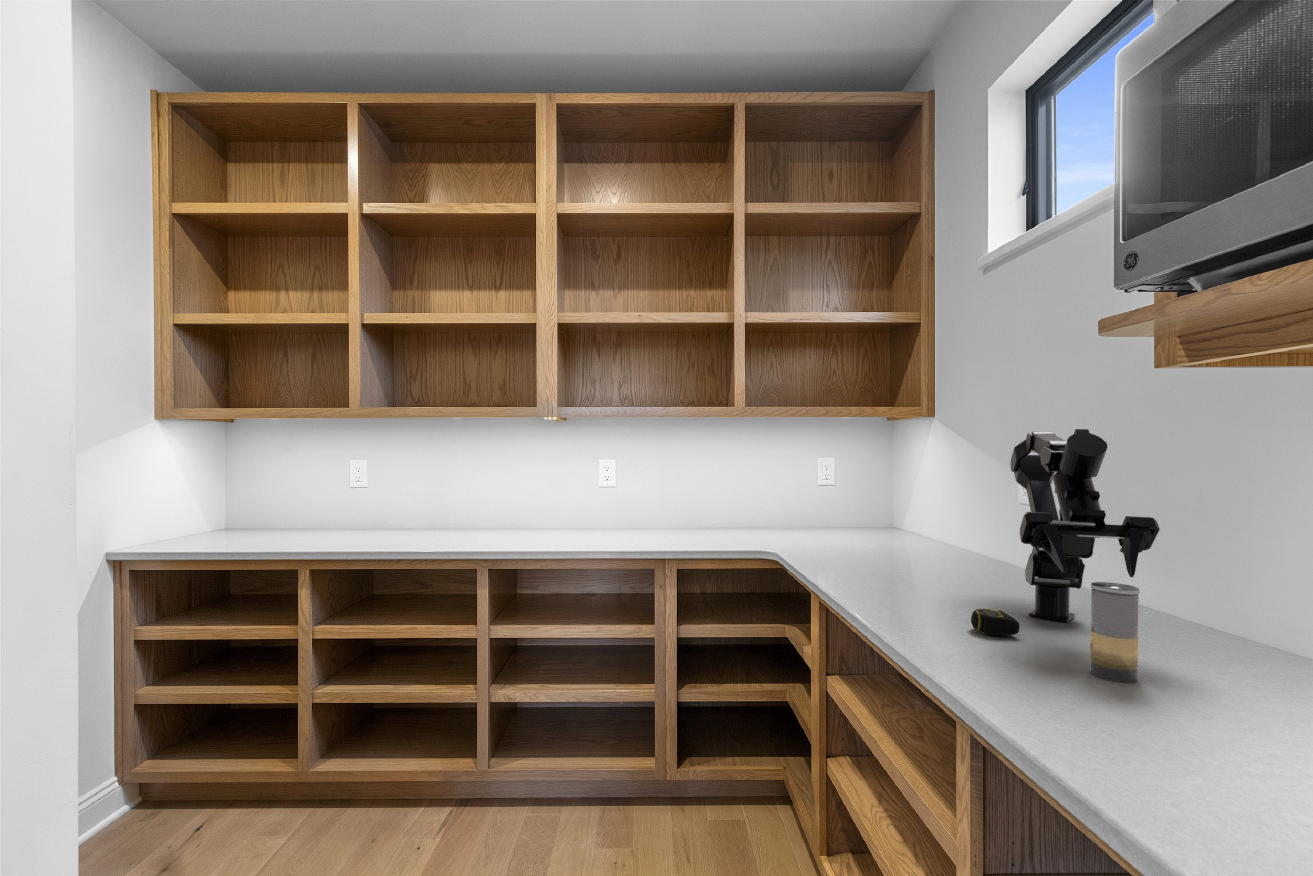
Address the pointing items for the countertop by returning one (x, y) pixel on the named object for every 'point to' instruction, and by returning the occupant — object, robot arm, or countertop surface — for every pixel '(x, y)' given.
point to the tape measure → (994, 622)
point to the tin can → (1114, 631)
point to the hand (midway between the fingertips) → (1098, 573)
